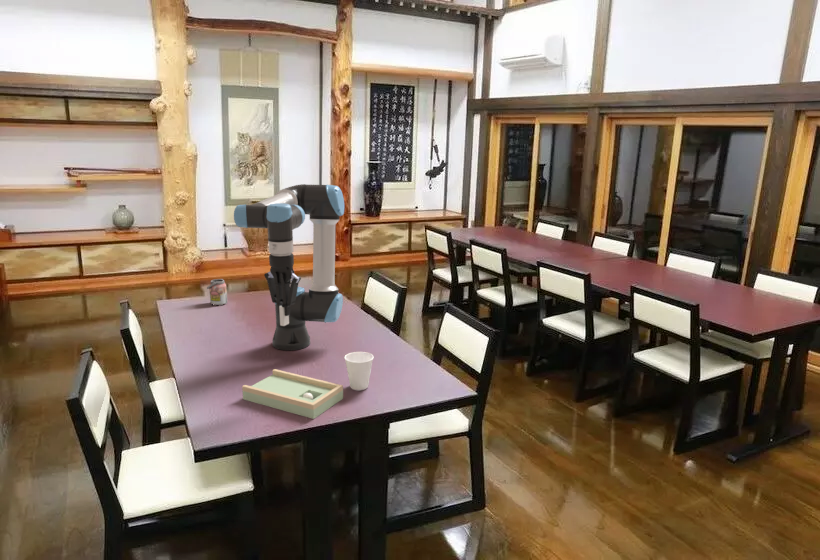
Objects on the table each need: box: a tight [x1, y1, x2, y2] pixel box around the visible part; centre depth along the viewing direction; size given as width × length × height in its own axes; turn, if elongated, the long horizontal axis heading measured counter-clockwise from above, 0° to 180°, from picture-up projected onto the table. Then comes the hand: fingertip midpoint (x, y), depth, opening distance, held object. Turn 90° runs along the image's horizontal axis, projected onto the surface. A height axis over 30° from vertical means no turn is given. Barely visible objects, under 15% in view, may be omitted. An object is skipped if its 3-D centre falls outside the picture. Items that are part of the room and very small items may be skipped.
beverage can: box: [206, 278, 228, 306], centre depth 289 cm, size 9×8×12 cm
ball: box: [303, 393, 313, 400], centre depth 185 cm, size 4×4×4 cm
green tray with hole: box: [242, 368, 344, 419], centre depth 188 cm, size 28×16×5 cm, turn 63°
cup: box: [343, 351, 375, 391], centre depth 196 cm, size 10×10×11 cm
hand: (284, 324), depth 188 cm, fingers closed
